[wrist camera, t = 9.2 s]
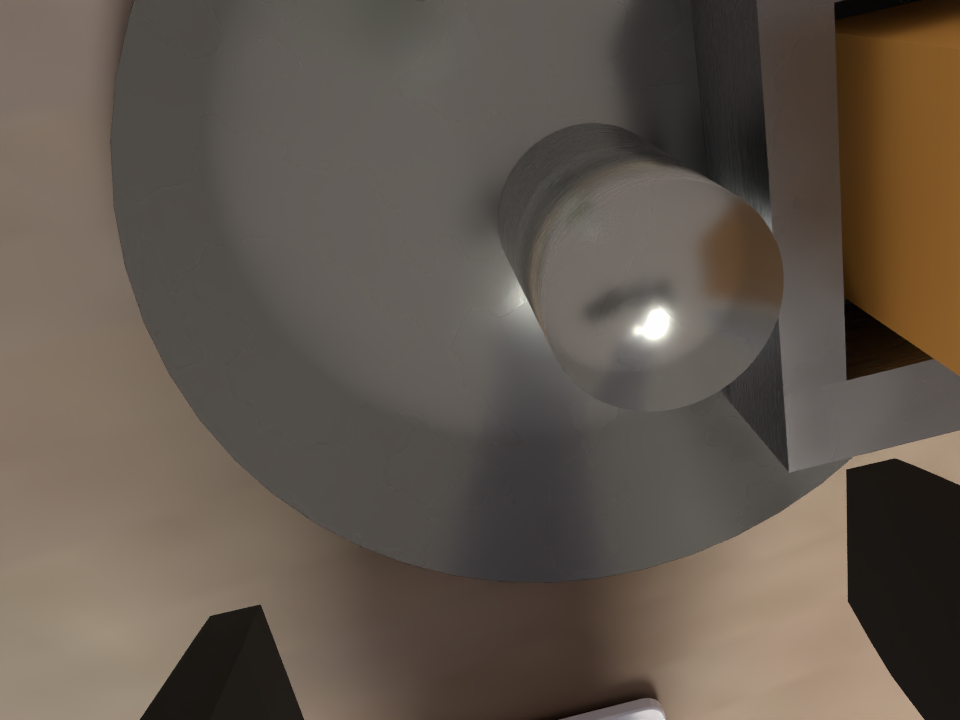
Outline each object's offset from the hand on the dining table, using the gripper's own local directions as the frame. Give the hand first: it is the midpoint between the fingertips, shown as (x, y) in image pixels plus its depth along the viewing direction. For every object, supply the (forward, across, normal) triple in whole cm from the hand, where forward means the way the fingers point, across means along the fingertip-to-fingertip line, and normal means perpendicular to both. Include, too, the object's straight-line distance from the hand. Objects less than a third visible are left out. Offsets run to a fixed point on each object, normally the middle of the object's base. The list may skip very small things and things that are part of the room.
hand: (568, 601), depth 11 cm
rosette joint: (+9, -7, -2) cm, 12 cm away
